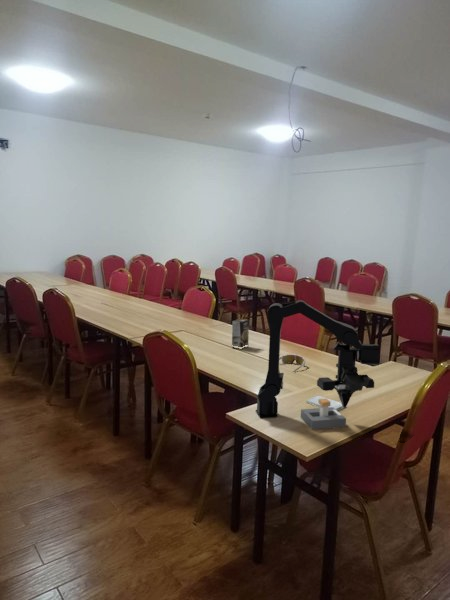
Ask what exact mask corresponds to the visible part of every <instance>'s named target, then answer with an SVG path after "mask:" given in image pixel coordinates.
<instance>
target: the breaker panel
mask: <svg viewBox="0 0 450 600" xmlns="http://www.w3.org/2000/svg"><path fill="white" fill-rule="evenodd" d="M300 418H301V420H302V421H303V422H305V424H306V425H307V426H308V427H309V428H310V430H313V431H314V430H325V429H339V428H340V429H341V428H346V426H347V418H346V417H345V416H344V415H343V414H341V412H339V410H338V411H337V410H336V409H334V408H333V407H330V408H328V416H320V407H317V408H303V409H302V408H301V409H300Z"/></svg>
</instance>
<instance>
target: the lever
mask: <svg viewBox="0 0 450 600" xmlns="http://www.w3.org/2000/svg"><path fill="white" fill-rule="evenodd" d="M327 399H328V398H327ZM327 399H319V400H318V403H319V404H320V407H319V408H320V416H328V406H330V401H328V400H327Z"/></svg>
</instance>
